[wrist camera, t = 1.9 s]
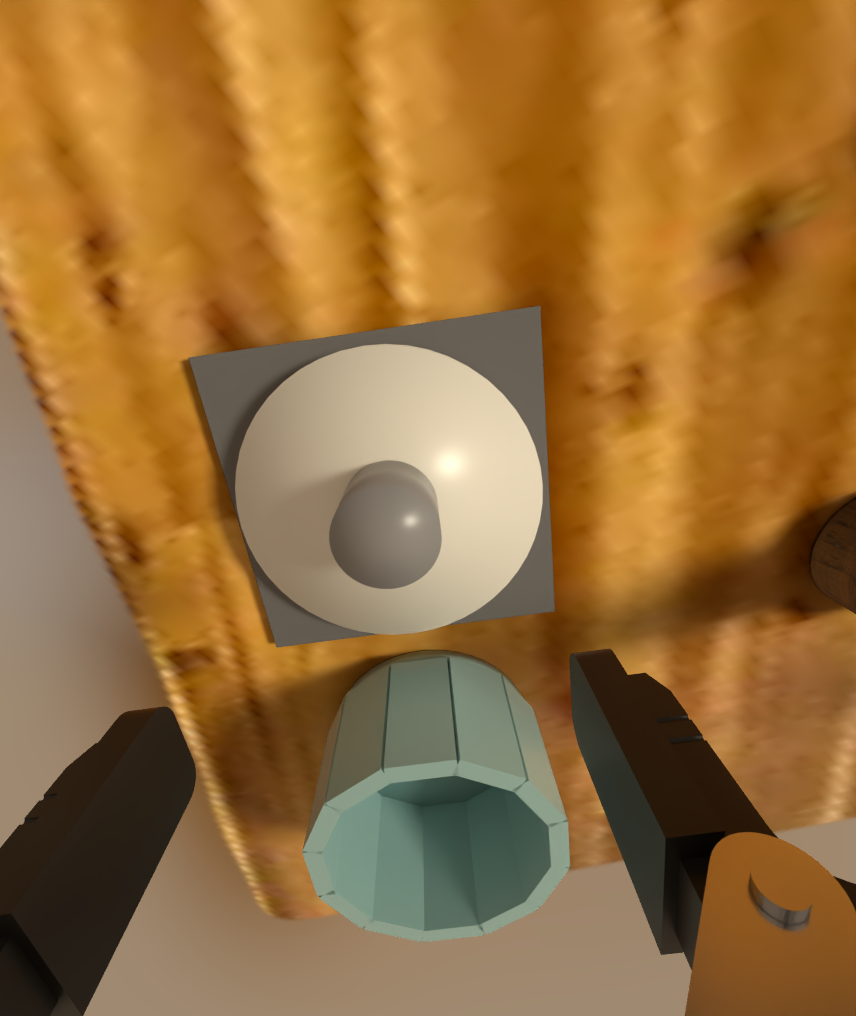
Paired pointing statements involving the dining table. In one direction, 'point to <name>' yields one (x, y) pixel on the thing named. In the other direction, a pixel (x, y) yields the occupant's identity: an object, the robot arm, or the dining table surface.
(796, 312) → the dining table surface
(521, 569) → the mat
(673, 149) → the dining table surface
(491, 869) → the cup
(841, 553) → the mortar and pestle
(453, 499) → the lid
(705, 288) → the dining table surface
